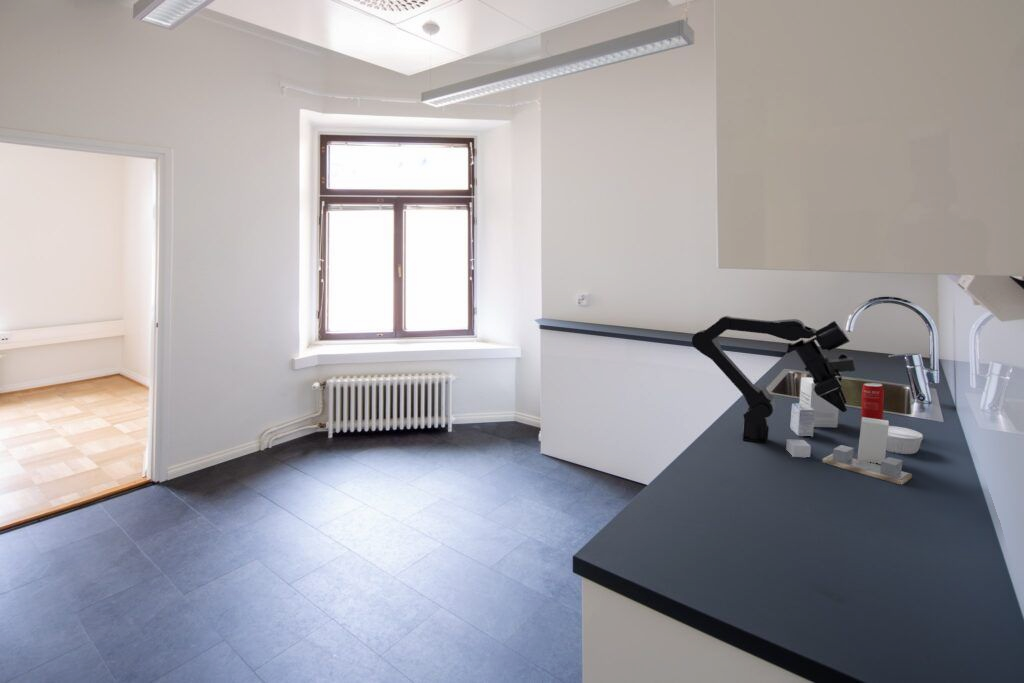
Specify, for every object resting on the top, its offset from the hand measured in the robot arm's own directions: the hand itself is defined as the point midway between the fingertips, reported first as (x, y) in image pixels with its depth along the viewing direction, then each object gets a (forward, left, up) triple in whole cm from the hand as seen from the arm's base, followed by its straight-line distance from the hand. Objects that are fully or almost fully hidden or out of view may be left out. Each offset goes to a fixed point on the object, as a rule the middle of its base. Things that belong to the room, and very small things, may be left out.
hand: (845, 407), depth 145 cm
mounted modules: (+4, -11, -12) cm, 17 cm away
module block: (+7, -2, -13) cm, 15 cm away
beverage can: (+13, +29, -14) cm, 34 cm away
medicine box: (-8, +16, -14) cm, 22 cm away
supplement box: (-2, +29, -14) cm, 32 cm away
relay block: (-11, -5, -14) cm, 18 cm away
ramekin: (+16, +11, -14) cm, 23 cm away
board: (+4, -11, -13) cm, 18 cm away
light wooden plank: (+4, -11, -13) cm, 18 cm away
